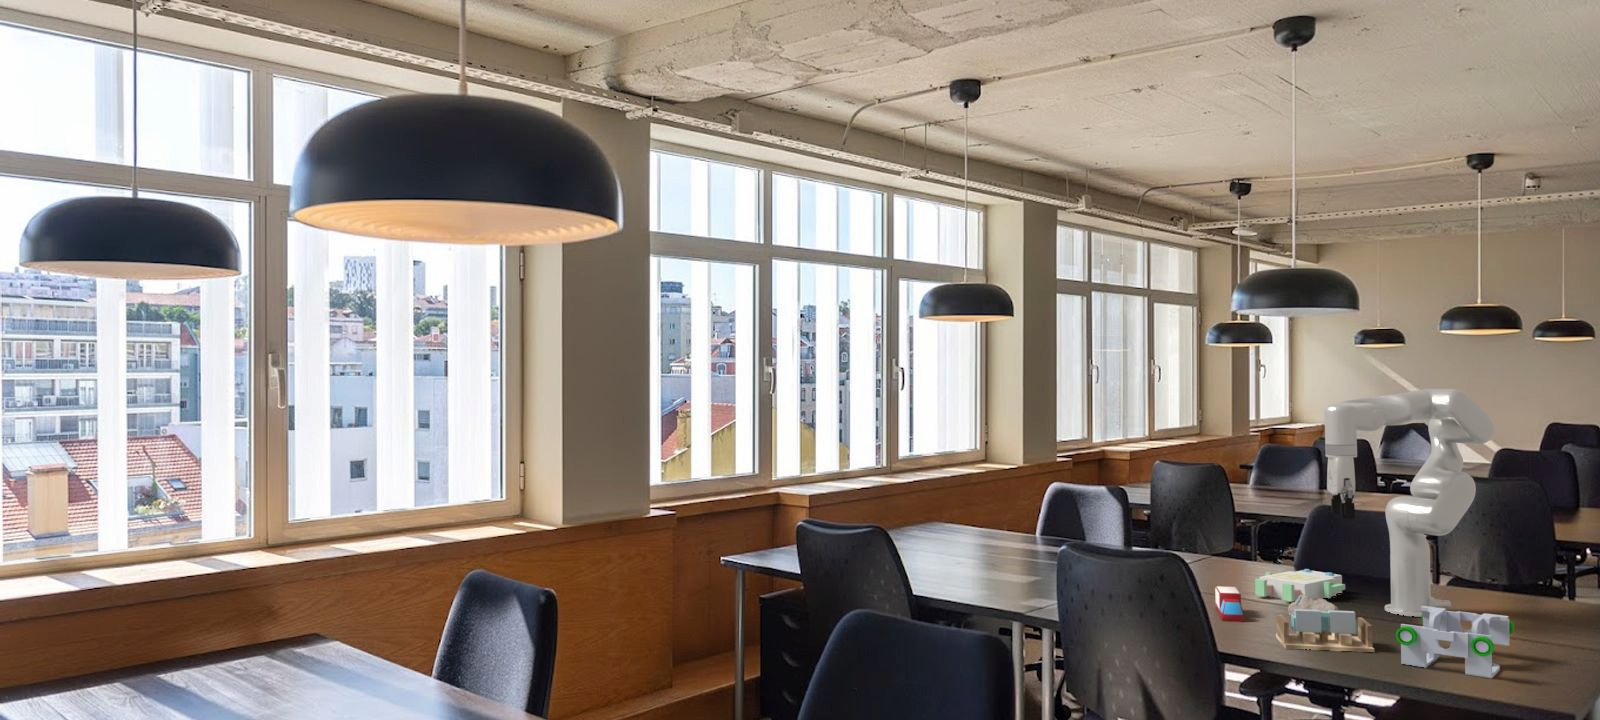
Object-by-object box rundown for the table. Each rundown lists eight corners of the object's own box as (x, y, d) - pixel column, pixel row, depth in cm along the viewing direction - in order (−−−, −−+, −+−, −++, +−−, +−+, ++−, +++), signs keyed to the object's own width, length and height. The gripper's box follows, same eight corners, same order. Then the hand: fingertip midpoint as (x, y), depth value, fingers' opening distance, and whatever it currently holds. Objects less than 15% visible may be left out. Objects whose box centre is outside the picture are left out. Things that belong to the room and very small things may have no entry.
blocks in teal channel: (1353, 630, 266) (1353, 609, 266) (1357, 633, 263) (1357, 613, 263) (1291, 627, 269) (1290, 607, 270) (1294, 631, 266) (1294, 610, 266)
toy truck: (1222, 621, 292) (1221, 597, 293) (1215, 609, 307) (1215, 586, 307) (1244, 622, 291) (1243, 597, 291) (1236, 610, 306) (1236, 586, 306)
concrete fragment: (1322, 627, 285) (1322, 603, 286) (1284, 615, 299) (1284, 593, 299) (1345, 625, 287) (1344, 601, 287) (1306, 613, 301) (1305, 591, 301)
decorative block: (1292, 565, 339) (1355, 574, 323) (1293, 586, 339) (1356, 596, 323) (1242, 574, 325) (1305, 585, 308) (1242, 596, 325) (1305, 608, 308)
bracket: (1514, 658, 253) (1513, 614, 253) (1493, 681, 234) (1492, 634, 235) (1423, 645, 266) (1422, 603, 266) (1396, 666, 247) (1395, 621, 247)
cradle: (1360, 640, 270) (1360, 616, 270) (1374, 653, 258) (1373, 627, 258) (1276, 637, 275) (1275, 613, 275) (1285, 648, 263) (1285, 623, 263)
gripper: (1318, 448, 300) (1319, 511, 300) (1334, 454, 283) (1335, 520, 283) (1347, 448, 299) (1349, 511, 299) (1365, 453, 282) (1367, 520, 282)
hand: (1342, 515), depth 291 cm, fingers open, 9 cm apart
